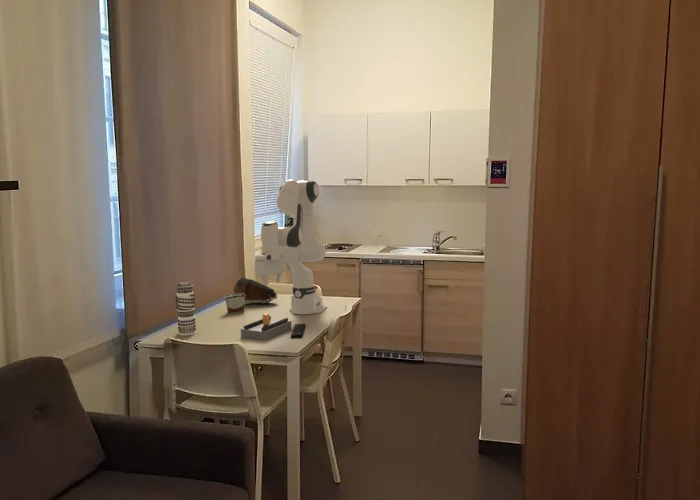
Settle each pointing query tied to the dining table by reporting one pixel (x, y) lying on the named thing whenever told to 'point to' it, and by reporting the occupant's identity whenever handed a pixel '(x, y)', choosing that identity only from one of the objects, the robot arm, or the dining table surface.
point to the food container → (235, 302)
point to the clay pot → (254, 291)
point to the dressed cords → (266, 326)
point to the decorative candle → (185, 308)
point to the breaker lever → (266, 319)
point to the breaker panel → (258, 334)
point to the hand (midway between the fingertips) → (272, 283)
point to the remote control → (298, 331)
